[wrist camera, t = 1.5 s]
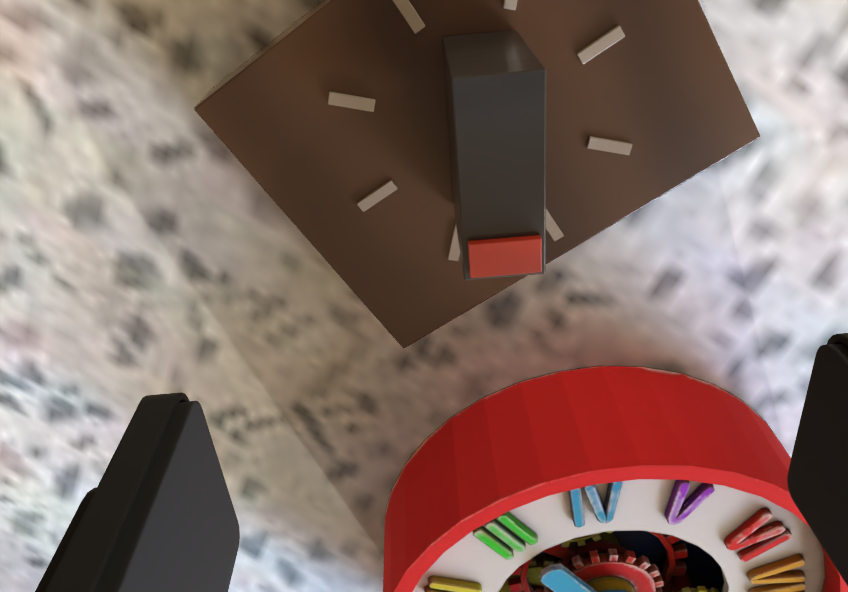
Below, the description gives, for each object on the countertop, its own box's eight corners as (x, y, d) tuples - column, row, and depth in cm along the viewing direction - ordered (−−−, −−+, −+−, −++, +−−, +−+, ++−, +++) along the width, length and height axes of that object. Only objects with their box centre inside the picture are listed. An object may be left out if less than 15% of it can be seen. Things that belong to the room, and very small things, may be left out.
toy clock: (939, 637, 30) (570, 802, 37) (863, 530, 36) (550, 692, 42) (691, 369, 23) (281, 638, 29) (639, 280, 28) (299, 527, 34)
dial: (441, 36, 21) (451, 80, 16) (516, 29, 20) (548, 71, 16) (453, 207, 23) (464, 285, 19) (519, 201, 23) (547, 278, 19)
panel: (579, -203, 20) (602, -213, 18) (730, 114, 24) (763, 139, 22) (211, 88, 24) (191, 110, 21) (403, 313, 28) (403, 351, 26)
